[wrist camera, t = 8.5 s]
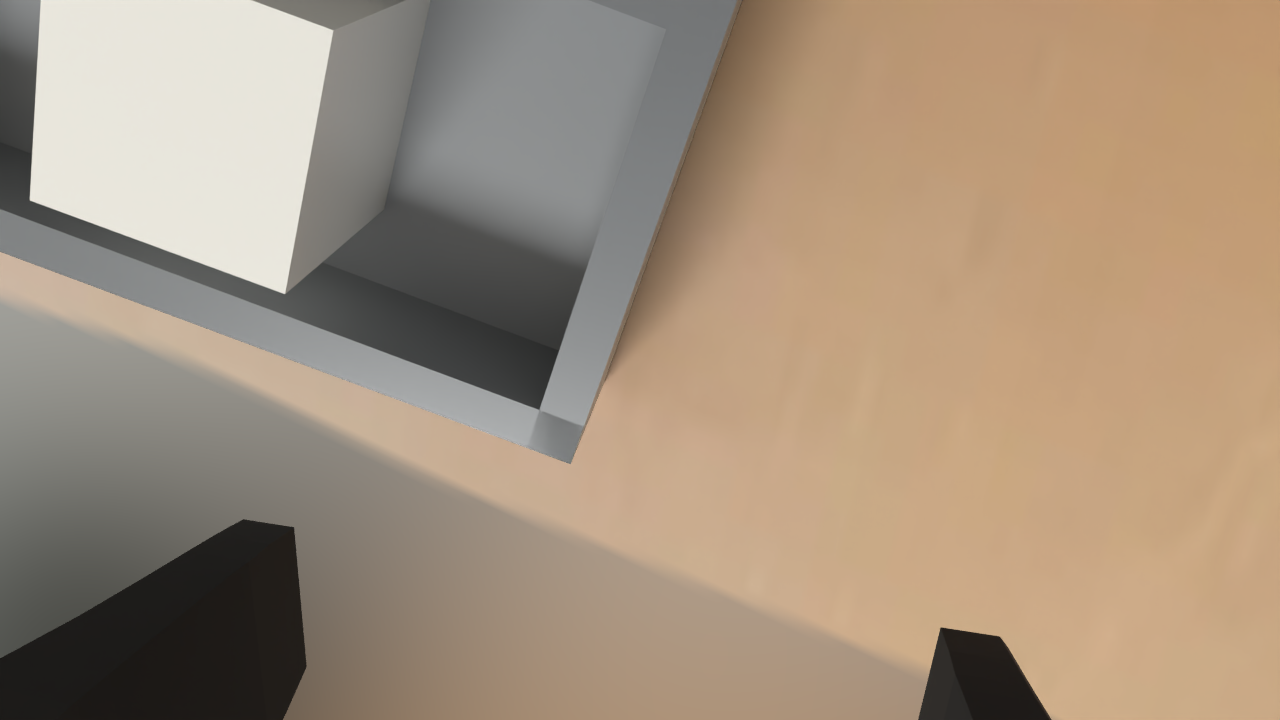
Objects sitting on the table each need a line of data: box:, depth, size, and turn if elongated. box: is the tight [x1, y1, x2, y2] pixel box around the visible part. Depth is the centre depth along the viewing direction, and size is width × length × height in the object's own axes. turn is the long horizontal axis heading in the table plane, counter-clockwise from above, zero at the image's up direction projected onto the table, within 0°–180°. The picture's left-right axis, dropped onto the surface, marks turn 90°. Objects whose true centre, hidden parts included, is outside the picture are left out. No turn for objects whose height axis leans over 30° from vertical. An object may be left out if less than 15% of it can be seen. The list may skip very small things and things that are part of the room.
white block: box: [30, 0, 431, 294], centre depth 17 cm, size 4×4×4 cm
